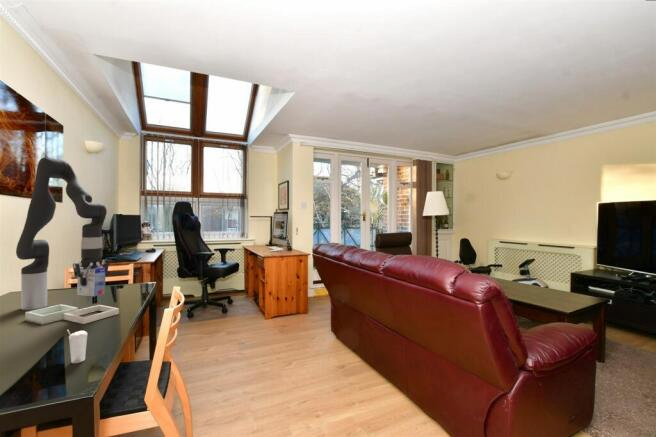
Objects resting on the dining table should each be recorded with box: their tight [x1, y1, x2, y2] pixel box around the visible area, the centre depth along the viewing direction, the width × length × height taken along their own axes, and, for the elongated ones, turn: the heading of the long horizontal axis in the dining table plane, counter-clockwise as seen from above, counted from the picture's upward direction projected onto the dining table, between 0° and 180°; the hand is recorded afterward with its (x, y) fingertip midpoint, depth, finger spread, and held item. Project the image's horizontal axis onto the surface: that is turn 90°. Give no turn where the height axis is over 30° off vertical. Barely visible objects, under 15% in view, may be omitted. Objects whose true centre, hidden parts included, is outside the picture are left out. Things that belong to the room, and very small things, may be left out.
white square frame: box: [62, 304, 120, 325], centre depth 137 cm, size 15×15×2 cm
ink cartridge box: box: [76, 265, 106, 297], centre depth 137 cm, size 10×6×14 cm, turn 78°
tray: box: [24, 304, 79, 325], centre depth 135 cm, size 13×13×4 cm
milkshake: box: [67, 329, 88, 364], centre depth 95 cm, size 4×5×10 cm
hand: (91, 284), depth 137 cm, fingers closed on ink cartridge box, 5 cm apart
